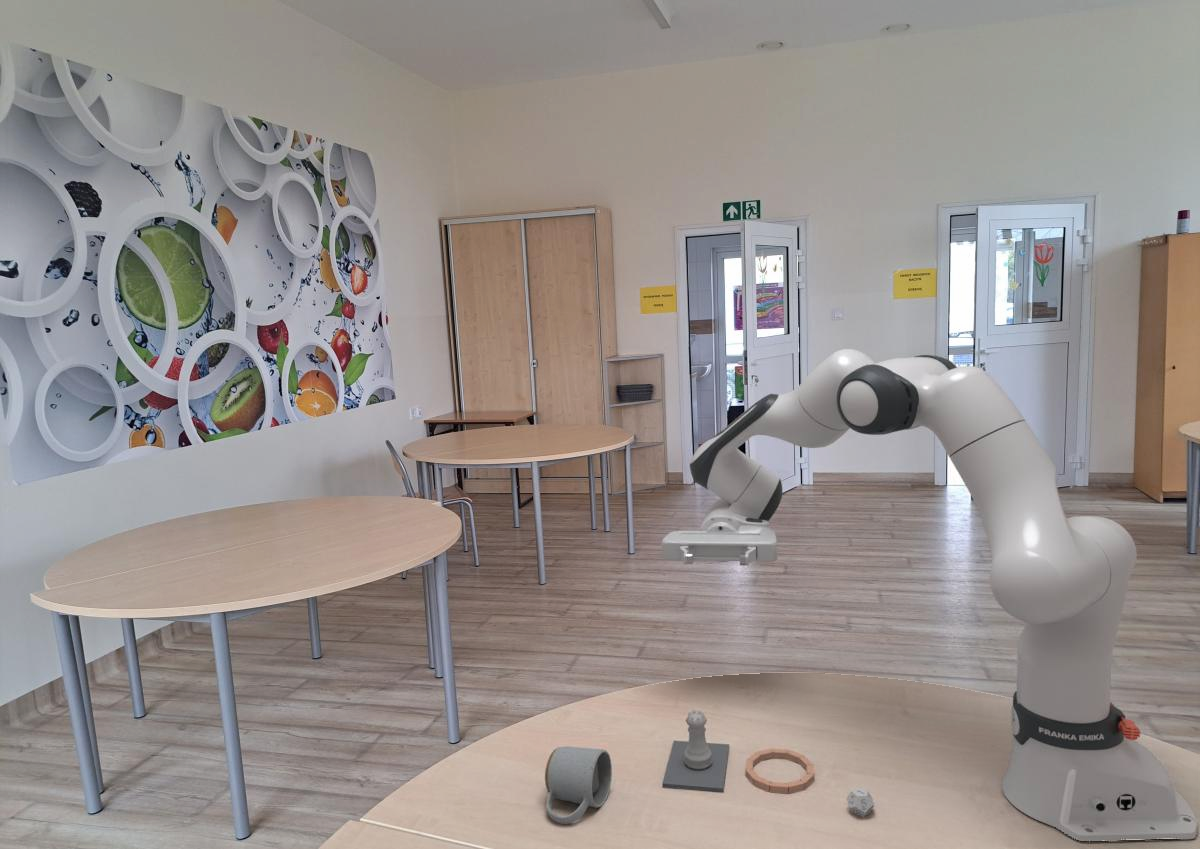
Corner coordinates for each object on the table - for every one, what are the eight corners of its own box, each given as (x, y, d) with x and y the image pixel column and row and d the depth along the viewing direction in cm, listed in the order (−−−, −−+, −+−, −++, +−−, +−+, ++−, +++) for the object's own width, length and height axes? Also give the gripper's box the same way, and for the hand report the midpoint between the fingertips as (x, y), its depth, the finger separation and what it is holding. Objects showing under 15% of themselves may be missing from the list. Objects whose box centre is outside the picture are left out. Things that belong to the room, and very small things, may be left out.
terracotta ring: (812, 757, 125) (812, 751, 125) (814, 795, 115) (814, 789, 115) (747, 752, 127) (747, 746, 127) (744, 789, 117) (744, 783, 117)
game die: (864, 823, 109) (864, 803, 108) (841, 811, 112) (841, 791, 111) (879, 812, 111) (879, 792, 110) (856, 800, 114) (856, 781, 113)
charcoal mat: (729, 747, 129) (729, 744, 129) (723, 792, 117) (723, 788, 117) (673, 743, 131) (673, 740, 131) (662, 787, 119) (662, 783, 119)
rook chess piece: (711, 754, 126) (709, 706, 125) (714, 770, 122) (712, 721, 121) (682, 755, 126) (680, 708, 125) (684, 771, 122) (682, 722, 121)
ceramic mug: (564, 778, 123) (561, 732, 122) (614, 787, 120) (611, 740, 119) (534, 821, 113) (529, 772, 112) (586, 832, 110) (583, 782, 109)
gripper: (666, 519, 150) (654, 541, 137) (777, 520, 145) (776, 543, 132) (667, 552, 151) (655, 577, 138) (778, 553, 146) (777, 579, 133)
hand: (715, 560), depth 135 cm, fingers open, 8 cm apart
